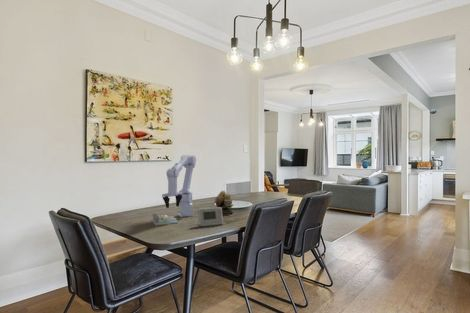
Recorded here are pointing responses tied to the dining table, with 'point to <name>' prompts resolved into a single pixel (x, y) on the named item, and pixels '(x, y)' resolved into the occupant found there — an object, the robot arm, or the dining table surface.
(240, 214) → the dining table surface
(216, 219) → the digital clock
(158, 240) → the dining table surface
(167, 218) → the gauge sled
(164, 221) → the gauge bench
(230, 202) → the brown bushy plant
